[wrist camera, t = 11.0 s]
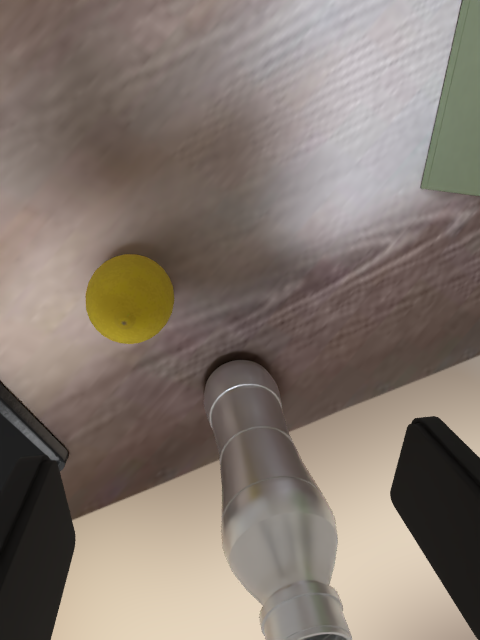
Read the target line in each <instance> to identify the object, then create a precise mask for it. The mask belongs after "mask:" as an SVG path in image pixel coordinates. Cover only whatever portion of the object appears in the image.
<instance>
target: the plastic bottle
mask: <svg viewBox="0 0 480 640" xmlns="http://www.w3.org/2000/svg"><path fill="white" fill-rule="evenodd" d="M204 408H205V411H206V414H207V418H208V421H209V423H210V425H211V427H212V429H213V432H214V435H215V439H216V443H217V447H218V451H219V458H220V465H221V479H222V526H221V528H222V529H221V532H222V548H223V551H224V554H225V557H226V559H227V561H228V564H229V566H230V568H231V570H232V572H233V573H234V575H235V576H236V577H237V579H238V580H239V581H240V582H241V584H242V585H243V586H244V587H245V588H246V590H247V591H248V592H249V593H250V594H251V595H253V596H254V598H256V599H257V600H258V601H259V602H260V603H261V604H262V605H263V607H262V609H261V611H260V617H259V618H260V624H261V629H262V632H263V634H264V636H265V639H266V640H352V636H351V634H350V631H349V628H348V625H347V623H346V620H345V618H344V615H343V606H342V603H341V600H340V597H339V595H338V592H337V591H336V590H335V589H334V588H333V587H331V586H329V584H330V580H331V576H332V572H333V568H334V564H335V558H336V551H337V544H338V540H337V539H338V538H337V530H336V523H335V517H334V515H333V512H332V510H331V508H330V506H329V505H328V502H327V501H326V499H325V497H324V496H323V494H322V492H321V491H320V489H319V488H318V486H317V484H316V483H315V481H314V480H313V478H312V476H311V475H310V473H309V471H308V470H307V468H306V467H305V465H304V463H303V462H302V460H301V458H300V455H299V453H298V451H297V449H296V447H295V445H294V443H293V441H292V439H291V437H290V435H289V432H288V428H287V425H286V422H285V418H284V415H283V412H282V404H281V397H280V393H279V389H278V386H277V384H276V382H275V380H274V379H273V377H272V376H271V375H270V374H269V372H268V371H267V370H266V369H265V368H264V367H263V366H261V365H259V364H258V363H255V362H252V361H248V360H235V361H230V362H228V363H225V364H223V365H221V366H220V367H218V368H217V369H216V370H215V371H214V372H213V373H212V374H211V375H210V377H209V378H208V380H207V383H206V387H205V392H204Z"/></svg>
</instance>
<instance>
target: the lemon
mask: <svg viewBox="0 0 480 640" xmlns="http://www.w3.org/2000/svg"><path fill="white" fill-rule="evenodd" d="M173 304H174V291H173V286H172V283H171V281H170V278H169V276H168V275H167V273H166V272H165V271H164V269H163V268H162V267H161V266H160V265H159V264H157V263H156V262H155V261H153V260H151V259H149V258H147V257H144V256H140V255H137V254H124V255H120V256H116V257H113V258H112V259H110V260H108V261H106V262H104V263H103V264H102V265H101V266H100V267H99V268H98V269H97V270H96V271H95V272H94V274H93V276H92V277H91V279H90V281H89V283H88V287H87V291H86V310H87V313H88V316H89V319H90V321H91V322H92V324H93V325H94V327H95V328H96V329H97V330H98V331H99V332H100V333H101V334H102V335H103V336H105V337H107V338H108V339H110V340H112V341H115V342H119V343H125V344H134V343H140V342H143V341H145V340H148V339H150V338H152V337H153V336H155V335H156V334H157V333H159V331H160V330H161V329H162V328H163V327H164V326H165V325H166V323H167V321H168V319H169V317H170V315H171V313H172V309H173Z"/></svg>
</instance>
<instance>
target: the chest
mask: <svg viewBox="0 0 480 640" xmlns="http://www.w3.org/2000/svg"><path fill="white" fill-rule="evenodd" d="M421 188H422V189H429V190H437V191H444V192H452V193H459V194H467V195H475V196H480V0H463V1H462V6H461V10H460V15H459V19H458V23H457V28H456V32H455V37H454V41H453V46H452V50H451V55H450V59H449V64H448V68H447V73H446V77H445V82H444V86H443V90H442V95H441V99H440V104H439V108H438V113H437V117H436V122H435V126H434V131H433V135H432V140H431V144H430V149H429V153H428V157H427V162H426V166H425V171H424V175H423V180H422V184H421Z"/></svg>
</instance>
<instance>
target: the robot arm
mask: <svg viewBox="0 0 480 640" xmlns="http://www.w3.org/2000/svg"><path fill="white" fill-rule="evenodd" d="M390 496H391V500H392V503H393V505H394V507H395V508H396V510H397V511H398V513H399V515H400V516H401V518H402V520H403V521H404V523H405V524H406V526H407V528H408V529H409V531H410V532H411V534H412V535H413V537H414V538H415V540H416V542H417V543H418V545H419V546H420V548H421V550H422V551H423V553H424V555H425V556H426V558H427V559H428V561H429V563H430V564H431V566H432V567H433V569H434V571H435V572H436V574H437V575H438V577H439V578H440V580H441V582H442V583H443V585H444V587H445V588H446V590H447V591H448V593H449V595H450V596H451V598H452V599H453V601H454V603H455V604H456V606H457V607H458V609H459V611H460V612H461V614H462V615H463V617H464V619H465V620H466V622H467V623H468V625H469V627H470V628H471V630H472V631H473V633H474V635H475V636H476V637H477V639H478V640H480V458H479V457H478V456H477V455H476V454H475V453H474V452H473V451H472V450H471V449H470V448H469V447H468V446H467V445H466V444H465V443H464V442H463V441H462V440H461V439H460V438H459V437H458V436H457V435H456V434H455V433H454V432H453V431H452V430H450V428H449V427H448V426H447V425H446V424H445V423H444V422H443V421H442V420H441V419H439V418H438V417H435V416H433V417H423V418H415V419H414V420H413V421H412V423H411V424H409V425H408V427H407V430H406V434H405V438H404V442H403V446H402V449H401V453H400V457H399V461H398V465H397V468H396V472H395V476H394V480H393V483H392V487H391V491H390ZM74 547H75V531H74V527H73V523H72V519H71V515H70V511H69V507H68V503H67V499H66V495H65V491H64V487H63V483H62V479H61V475H60V471H59V467H58V464H57V461H56V460H52V461H50V459H49V457H48V456H47V455H40V456H30V457H21V458H20V459H18V461H17V462H16V464H15V466H14V468H13V470H12V472H11V474H10V475H9V477H8V479H7V481H6V483H5V485H4V487H3V489H2V491H1V493H0V640H51V636H52V632H53V629H54V625H55V621H56V617H57V613H58V609H59V605H60V602H61V598H62V594H63V590H64V586H65V582H66V578H67V575H68V571H69V567H70V563H71V559H72V555H73V552H74Z"/></svg>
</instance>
